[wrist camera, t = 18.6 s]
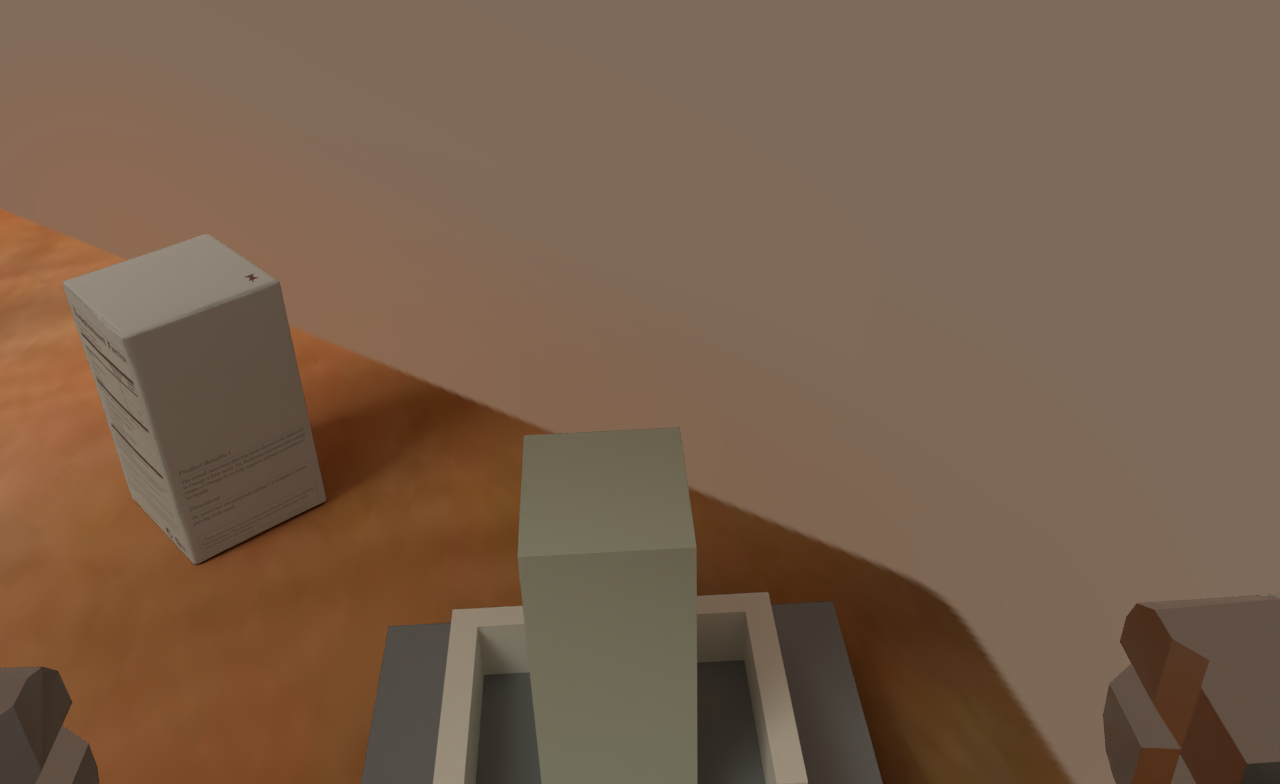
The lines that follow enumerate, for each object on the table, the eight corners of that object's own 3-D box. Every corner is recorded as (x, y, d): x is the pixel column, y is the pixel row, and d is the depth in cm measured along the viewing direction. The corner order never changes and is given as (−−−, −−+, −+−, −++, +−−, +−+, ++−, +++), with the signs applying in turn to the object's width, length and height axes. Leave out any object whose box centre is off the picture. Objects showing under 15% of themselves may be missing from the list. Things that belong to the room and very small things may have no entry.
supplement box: (262, 442, 66) (211, 228, 59) (330, 504, 61) (284, 278, 54) (128, 500, 62) (57, 277, 55) (190, 571, 57) (121, 336, 50)
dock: (337, 1065, 37) (306, 957, 34) (398, 679, 51) (379, 579, 48) (923, 1026, 38) (941, 917, 35) (828, 654, 51) (836, 553, 48)
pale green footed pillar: (546, 836, 40) (517, 557, 34) (549, 700, 45) (523, 435, 39) (697, 827, 41) (696, 547, 34) (683, 692, 46) (679, 427, 39)
